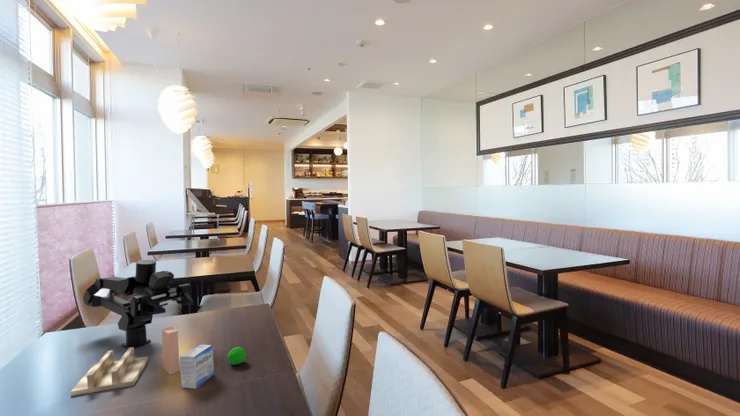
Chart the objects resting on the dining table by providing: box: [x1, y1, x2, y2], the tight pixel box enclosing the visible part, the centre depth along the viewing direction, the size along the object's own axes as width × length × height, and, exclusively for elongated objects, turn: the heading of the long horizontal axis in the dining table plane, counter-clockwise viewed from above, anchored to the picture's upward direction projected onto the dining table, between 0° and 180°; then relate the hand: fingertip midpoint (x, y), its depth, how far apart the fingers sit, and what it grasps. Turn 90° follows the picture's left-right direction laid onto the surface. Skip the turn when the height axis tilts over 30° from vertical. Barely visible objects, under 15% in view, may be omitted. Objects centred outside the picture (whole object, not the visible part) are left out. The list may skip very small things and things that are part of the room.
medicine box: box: [179, 344, 215, 390], centre depth 100 cm, size 8×4×9 cm, turn 168°
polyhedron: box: [227, 346, 246, 366], centre depth 110 cm, size 5×5×5 cm
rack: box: [70, 347, 149, 397], centre depth 104 cm, size 16×14×5 cm
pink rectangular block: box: [161, 326, 181, 375], centre depth 107 cm, size 4×3×12 cm, turn 49°
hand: (179, 306), depth 114 cm, fingers open, 9 cm apart
